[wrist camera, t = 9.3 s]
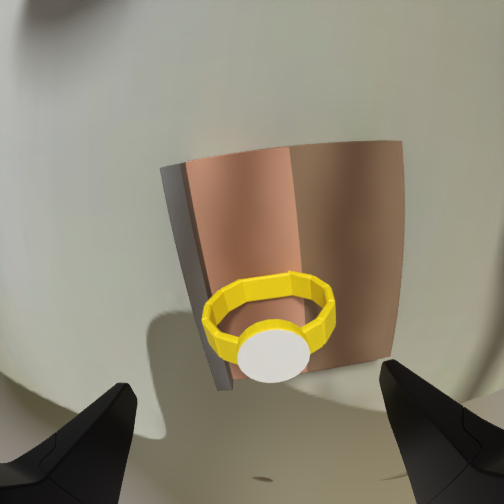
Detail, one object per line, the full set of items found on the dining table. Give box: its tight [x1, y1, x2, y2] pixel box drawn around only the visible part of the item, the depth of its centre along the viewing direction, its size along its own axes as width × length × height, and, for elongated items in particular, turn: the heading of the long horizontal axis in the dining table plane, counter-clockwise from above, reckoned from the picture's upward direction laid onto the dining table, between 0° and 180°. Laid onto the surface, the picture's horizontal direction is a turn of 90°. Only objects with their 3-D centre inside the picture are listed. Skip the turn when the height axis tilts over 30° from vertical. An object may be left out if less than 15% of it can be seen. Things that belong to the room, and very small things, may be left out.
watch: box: [201, 270, 336, 383], centre depth 13 cm, size 6×3×6 cm, turn 100°
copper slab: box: [160, 141, 405, 391], centre depth 16 cm, size 12×14×3 cm
